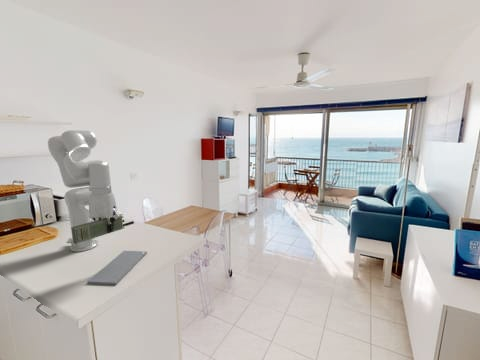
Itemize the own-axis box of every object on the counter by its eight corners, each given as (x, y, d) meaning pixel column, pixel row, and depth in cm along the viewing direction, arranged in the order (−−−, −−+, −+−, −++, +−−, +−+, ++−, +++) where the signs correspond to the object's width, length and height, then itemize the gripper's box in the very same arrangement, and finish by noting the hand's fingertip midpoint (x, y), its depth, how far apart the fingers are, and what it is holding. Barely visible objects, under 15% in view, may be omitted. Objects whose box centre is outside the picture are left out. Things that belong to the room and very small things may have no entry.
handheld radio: (72, 242, 94) (131, 224, 114) (75, 244, 92) (135, 225, 112) (70, 226, 92) (130, 210, 113) (73, 228, 91) (134, 212, 111)
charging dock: (87, 283, 94) (87, 281, 93) (124, 252, 119) (123, 250, 119) (116, 285, 93) (116, 282, 92) (146, 253, 118) (146, 251, 118)
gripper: (76, 192, 97) (82, 234, 100) (114, 192, 96) (118, 235, 98) (89, 189, 105) (94, 228, 108) (125, 189, 103) (128, 229, 106)
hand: (106, 231), depth 103 cm, fingers closed on handheld radio, 3 cm apart
